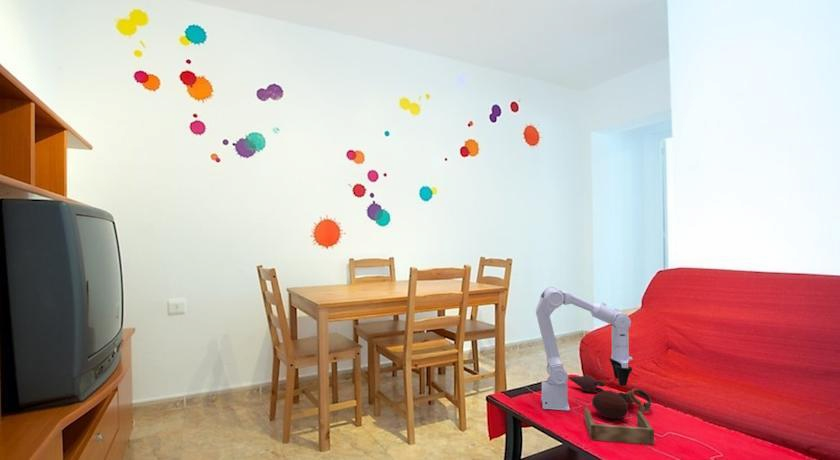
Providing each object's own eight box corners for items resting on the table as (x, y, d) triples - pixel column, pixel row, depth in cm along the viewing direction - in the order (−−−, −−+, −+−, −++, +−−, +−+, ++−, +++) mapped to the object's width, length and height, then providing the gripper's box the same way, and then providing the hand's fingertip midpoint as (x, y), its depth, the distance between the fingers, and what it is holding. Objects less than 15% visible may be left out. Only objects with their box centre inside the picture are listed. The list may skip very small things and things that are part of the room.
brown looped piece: (637, 404, 164) (648, 388, 160) (647, 424, 155) (658, 409, 152) (607, 396, 164) (617, 381, 160) (615, 417, 155) (626, 401, 151)
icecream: (564, 374, 178) (602, 385, 168) (571, 366, 183) (608, 376, 174) (565, 389, 180) (602, 401, 170) (572, 380, 185) (608, 391, 175)
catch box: (591, 439, 136) (591, 425, 136) (584, 420, 149) (584, 407, 149) (654, 444, 132) (653, 429, 132) (641, 424, 145) (640, 411, 145)
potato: (624, 426, 144) (623, 399, 144) (588, 417, 152) (587, 390, 152) (632, 418, 150) (631, 391, 150) (597, 409, 158) (596, 384, 158)
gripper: (637, 350, 151) (637, 389, 151) (627, 340, 165) (627, 376, 165) (615, 349, 152) (615, 388, 152) (607, 339, 167) (607, 374, 166)
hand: (620, 381), depth 159 cm, fingers open, 7 cm apart
